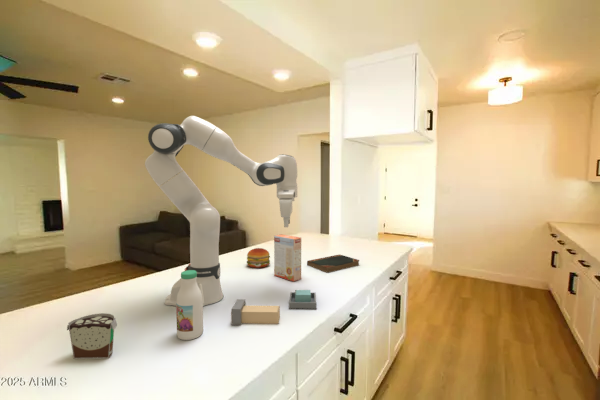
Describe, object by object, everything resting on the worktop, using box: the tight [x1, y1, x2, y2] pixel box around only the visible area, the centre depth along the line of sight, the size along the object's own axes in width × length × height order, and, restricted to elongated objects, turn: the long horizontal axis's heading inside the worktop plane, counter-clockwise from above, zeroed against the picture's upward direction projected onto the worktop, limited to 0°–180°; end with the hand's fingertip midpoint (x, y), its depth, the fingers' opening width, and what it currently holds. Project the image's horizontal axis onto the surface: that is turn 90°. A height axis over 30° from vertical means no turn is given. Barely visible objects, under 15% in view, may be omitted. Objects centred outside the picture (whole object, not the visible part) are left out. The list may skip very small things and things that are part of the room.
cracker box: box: [273, 234, 302, 282], centre depth 145 cm, size 14×6×21 cm, turn 47°
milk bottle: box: [175, 270, 204, 341], centre depth 91 cm, size 8×8×20 cm
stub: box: [294, 289, 312, 302], centre depth 115 cm, size 6×5×4 cm
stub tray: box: [288, 291, 317, 310], centre depth 115 cm, size 10×10×2 cm
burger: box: [246, 247, 271, 269], centre depth 166 cm, size 13×14×10 cm
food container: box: [66, 312, 118, 360], centre depth 82 cm, size 12×6×10 cm, turn 92°
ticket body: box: [230, 298, 281, 326], centre depth 101 cm, size 16×8×6 cm, turn 89°
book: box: [306, 254, 360, 274], centre depth 167 cm, size 17×4×25 cm
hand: (287, 225), depth 125 cm, fingers open, 8 cm apart
